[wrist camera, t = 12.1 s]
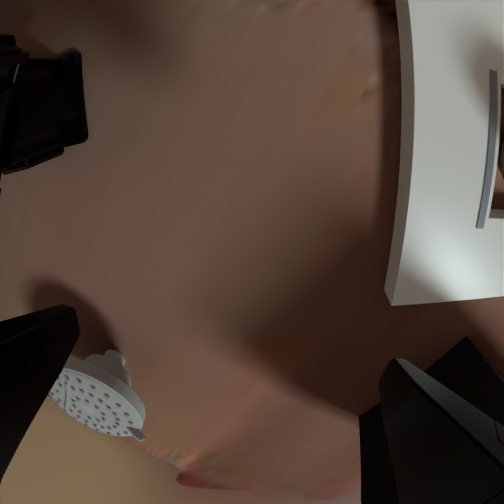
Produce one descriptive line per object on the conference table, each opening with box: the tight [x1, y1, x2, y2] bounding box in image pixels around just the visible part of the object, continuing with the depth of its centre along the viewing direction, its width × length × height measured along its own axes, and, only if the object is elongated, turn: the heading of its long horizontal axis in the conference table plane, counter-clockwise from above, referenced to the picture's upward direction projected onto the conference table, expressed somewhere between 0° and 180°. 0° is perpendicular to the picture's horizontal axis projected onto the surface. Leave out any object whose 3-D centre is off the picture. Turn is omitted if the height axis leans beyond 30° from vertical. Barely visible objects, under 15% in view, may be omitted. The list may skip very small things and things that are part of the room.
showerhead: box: [49, 349, 146, 441], centre depth 24 cm, size 9×7×10 cm
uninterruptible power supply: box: [359, 336, 504, 504], centre depth 21 cm, size 16×34×20 cm, turn 53°
